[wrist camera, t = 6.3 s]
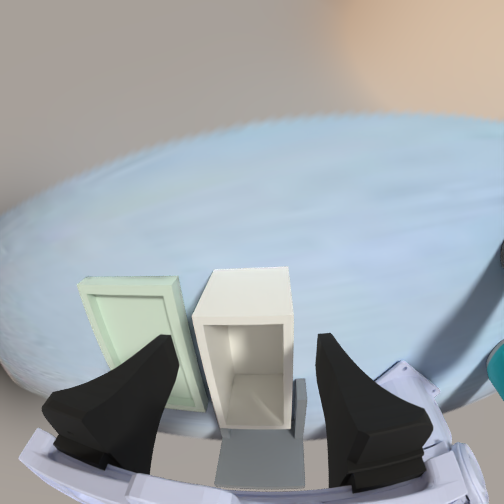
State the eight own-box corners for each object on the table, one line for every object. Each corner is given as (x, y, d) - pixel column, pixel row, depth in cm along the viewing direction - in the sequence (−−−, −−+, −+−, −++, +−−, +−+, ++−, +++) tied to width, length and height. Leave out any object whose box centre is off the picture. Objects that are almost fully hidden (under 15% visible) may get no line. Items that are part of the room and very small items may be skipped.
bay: (301, 423, 24) (304, 488, 17) (226, 423, 25) (215, 486, 18) (305, 378, 22) (311, 456, 14) (216, 379, 23) (197, 453, 15)
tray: (208, 401, 24) (205, 412, 22) (131, 391, 25) (126, 401, 23) (178, 275, 19) (171, 285, 18) (86, 276, 20) (76, 284, 19)
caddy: (288, 372, 22) (290, 428, 16) (230, 373, 22) (220, 427, 17) (287, 265, 18) (293, 314, 13) (214, 268, 19) (191, 316, 13)
